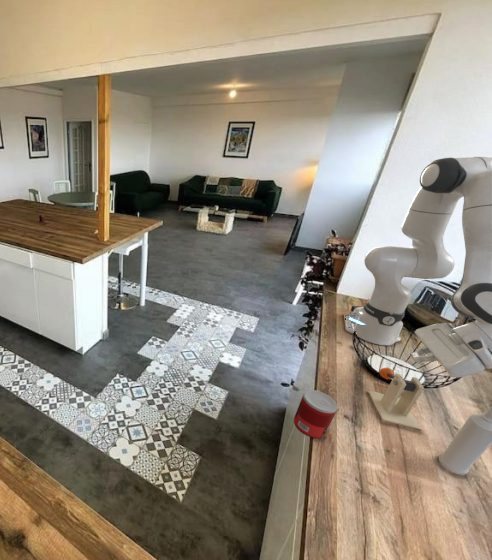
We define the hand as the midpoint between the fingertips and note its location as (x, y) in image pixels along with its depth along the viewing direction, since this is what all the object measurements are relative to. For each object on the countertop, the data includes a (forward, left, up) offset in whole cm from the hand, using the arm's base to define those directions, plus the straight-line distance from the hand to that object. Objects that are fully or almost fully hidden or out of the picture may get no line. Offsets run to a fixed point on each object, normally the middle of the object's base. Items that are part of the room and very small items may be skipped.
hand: (412, 358), depth 96 cm
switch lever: (+6, -4, -7) cm, 10 cm away
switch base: (+10, -4, -14) cm, 18 cm away
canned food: (+26, -29, -14) cm, 42 cm away
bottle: (+26, +3, -14) cm, 30 cm away
